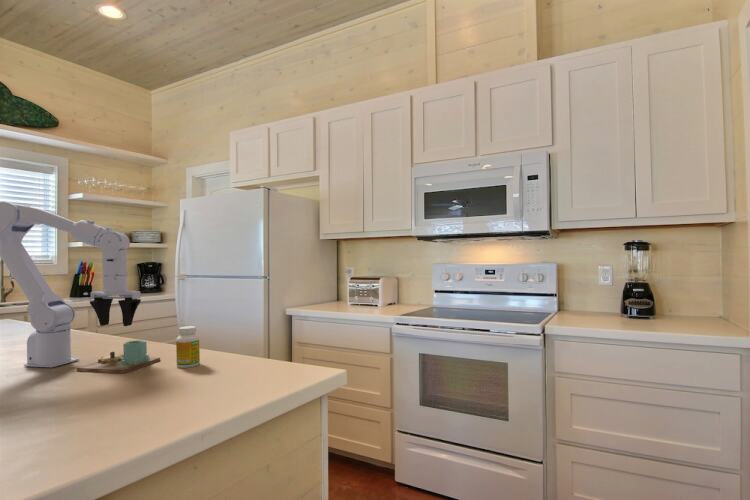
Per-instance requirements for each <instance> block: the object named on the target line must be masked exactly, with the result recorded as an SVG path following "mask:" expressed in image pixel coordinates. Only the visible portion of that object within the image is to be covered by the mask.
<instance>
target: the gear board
mask: <svg viewBox="0 0 750 500" xmlns="http://www.w3.org/2000/svg"><path fill="white" fill-rule="evenodd" d="M149 357H150V356H149ZM121 358H124V354H116V352H115V351H110V353H109V356H101V358H97V361H96V362H91V363H87V364H85V365H81V366H77V367H76V372H89V373H106V374H107V373H110V374H111V373H112V374H126V373H130V372H132V371H134V370H137V369H140V368H143V367H145V366H150V365H151V364H154V363H157V362H160V361H161V357H155V356H154V357H153V356H151V357H150V361H148V362H142V363H138V364H135V365H134V364H125V365H121Z"/></svg>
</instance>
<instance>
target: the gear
mask: <svg viewBox="0 0 750 500" xmlns="http://www.w3.org/2000/svg"><path fill="white" fill-rule="evenodd" d="M122 345H123V355H124V358H121V365H125V364H134V365H135V364H138V363H142V362H148V361H150V355H149V354H147V351H148V349H147V340H142V339H141V340H130V341H127V342H124V343H123V344H122Z"/></svg>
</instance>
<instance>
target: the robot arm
mask: <svg viewBox="0 0 750 500" xmlns="http://www.w3.org/2000/svg"><path fill="white" fill-rule="evenodd" d="M37 225H38V226H40V225H43V226H47V227H50V228H54V229H57V230H60V231H63V232H66V233H69V234H70V236H71V237H72V239H73V240H75V241H78V242H80V243H82V244H83V243H84V244H86V245H89V246H90V247H94V248H98V249H99V250H100V251H101V252H102V254H101V255H102V256H101V257H102V260H101V261H102V264H101V265H102V291H101V290H100V291H91V292H90V301H89V304H90V306H91V307H92V308H93V310H94V312H95V313H96V316H97V320H98V322H99V325H100V327H104V326H108V325H110V311H111V306H112V303H113V300H115V299H116V300H117V299H118V301H117V302H118V304H119V307H120V311H121V315H122V326H123V327H129V326H132V325H133V320H134V318H135V317H134V316H135V314H136V311H137V309H138V306H139V305H140V303H141V300H142V299H141V298H142V297H141V291H139V290H137V291H135V290H128V257H127V250H128V249H129V247H130V244H131V241H130V238H129V237H128V236H127V234H125V233H123V232H122V231H113V228H112V227H110V226H106V227H104V226H102V225H98V224H95V221H94V220H92V219H86V220H85V219H82V220H79V221H77V222H76V221H74V220H71V219H69V218H66V217H63V216H61V215H58V214H56V213H54V212H51V211H49V210H46V209H42V208H39V207H34V206H33V207H32V206H30V205H26V204H24V205H23V204H16V203H11V202H8V201H0V259H1V260H2V262H3V263H4V264H5V266H6V268H7V270H9V272H10V274H11V276H12V277H13V278H14V280H15V281H16V283H17V286H19V289H20V290H21V291H22V292H23V294H24V295H25V297H26V298H27V300H28V302H29V303H28V305H27V308H26V311H27V313H28V315H29V322H30V325H31V326H32V328H33V329H35V331H33V332H31V333H30V334H29V336H28V337H27V340H26V363H24V364H23V366H24V367H32V368H33V367H35V368H55V367H58V366H63V365H65V364H70V363H73V362H77V361H79V360H80V358H78V357H72V348H71V347H72V344H71V343H72V339H71V338H72V337H71V324H72V323H73V322H74V320H75V317H76V310H75V308H74V307H73V306H72V305H71V304H69V303H67V301H65V300H64V298H63V297H62V296H60V295H58V294H57V293H55V292H53V290H52V288H51V286H49V284H48V282H47V281H46V280H45V278H44V276H43V274H42V273H41V271H40V270H39V269H38V267H37V265H36V263H35V262H34V260H33V259H32V257H31V256H30V254H29V253H28V251H27V250H26V247H25V246H24V245H23V243H22V241H23V240H24V237H25V236H26V235H27V234H28V233H29V232H30V230H31V229H32V228H33V227H34V226H37Z"/></svg>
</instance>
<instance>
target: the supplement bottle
mask: <svg viewBox="0 0 750 500" xmlns="http://www.w3.org/2000/svg"><path fill="white" fill-rule="evenodd" d="M196 333H197V326H195V325H187V326H180V327H179V328H178V334H179V336H177V337H176V339H175V341H176V343H175V345H176V346H175V348H176V349H175V350H176V352H175V353H176V367H177V368H179V369H186V368H193V367H197V366H199V365H200V360H201V358H200V355H201V354H200V353H201V352H200V336H199V335H198V334H196Z"/></svg>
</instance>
